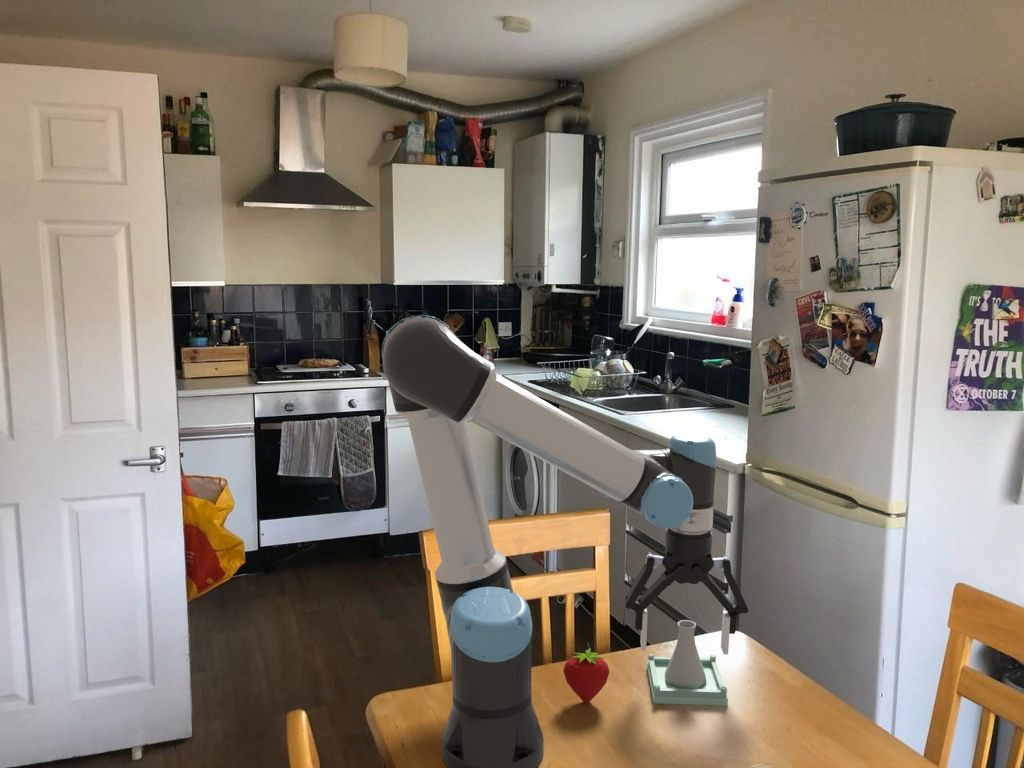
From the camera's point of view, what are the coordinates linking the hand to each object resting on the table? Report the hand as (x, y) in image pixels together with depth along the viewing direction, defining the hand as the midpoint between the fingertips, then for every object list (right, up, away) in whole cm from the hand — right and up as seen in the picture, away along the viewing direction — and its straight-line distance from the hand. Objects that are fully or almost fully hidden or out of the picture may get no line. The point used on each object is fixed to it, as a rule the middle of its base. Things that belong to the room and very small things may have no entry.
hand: (683, 649), depth 140 cm
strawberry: (-17, -8, -3) cm, 19 cm away
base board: (+1, -7, +1) cm, 7 cm away
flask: (+1, -6, +1) cm, 6 cm away
